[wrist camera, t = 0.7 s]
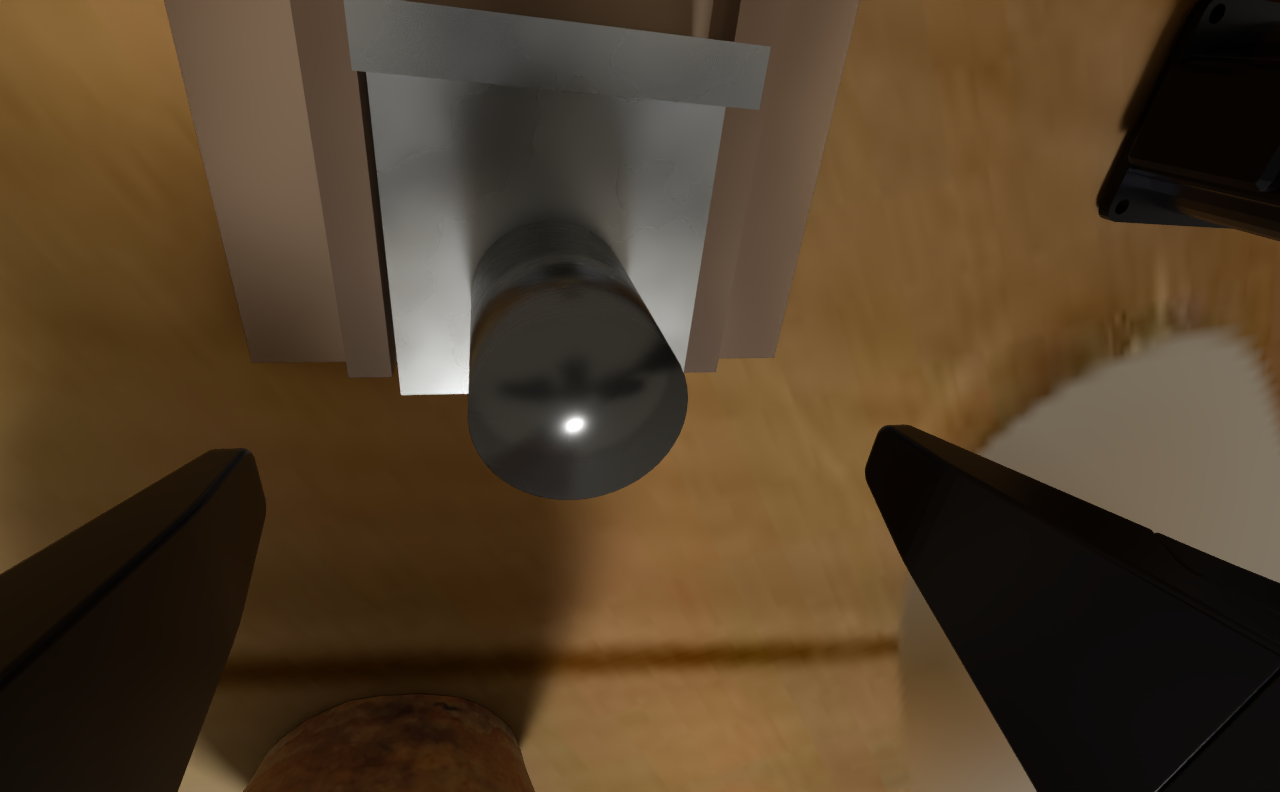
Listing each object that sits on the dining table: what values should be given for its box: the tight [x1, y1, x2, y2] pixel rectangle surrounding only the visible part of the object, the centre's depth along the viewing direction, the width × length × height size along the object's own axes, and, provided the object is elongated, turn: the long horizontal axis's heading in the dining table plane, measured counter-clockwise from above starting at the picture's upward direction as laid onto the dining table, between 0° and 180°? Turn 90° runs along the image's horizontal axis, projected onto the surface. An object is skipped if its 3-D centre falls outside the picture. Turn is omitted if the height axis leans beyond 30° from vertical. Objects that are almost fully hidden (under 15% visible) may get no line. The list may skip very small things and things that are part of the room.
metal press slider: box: [344, 0, 771, 500], centre depth 12 cm, size 7×8×7 cm
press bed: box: [164, 0, 860, 378], centre depth 14 cm, size 15×16×3 cm
